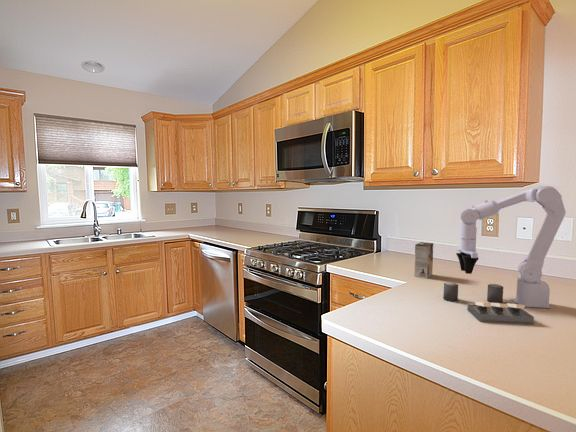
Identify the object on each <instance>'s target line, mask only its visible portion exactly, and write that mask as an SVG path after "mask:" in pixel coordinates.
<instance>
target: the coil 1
mask: <svg viewBox="0 0 576 432" xmlns="http://www.w3.org/2000/svg"><path fill="white" fill-rule="evenodd" d="M442 296H443V297H442V298H443V301H447V302H451V303H455V302H458V301H459V284H458V283H456V282H451V281H446V282H443V295H442Z"/></svg>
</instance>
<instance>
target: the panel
mask: <svg viewBox="0 0 576 432" xmlns="http://www.w3.org/2000/svg"><path fill="white" fill-rule="evenodd" d="M523 309H524V308H513V307H508V308H504V307H496V306H491V307H483V306H479V305H476V303H470V302H468V303H467V309H466V310H467V311H468V313H469V314H471V315H472V317H474V318H475V319H476V320H477V321H478V322H481V323H497V324H498V323H499V324H500V323H501V324H502V323H503V324H519V325H520V324H522V325H534V322H535V317H534V316H533V314H531V313H528V312H527V311H525V310H523Z"/></svg>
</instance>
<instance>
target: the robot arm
mask: <svg viewBox="0 0 576 432" xmlns="http://www.w3.org/2000/svg"><path fill="white" fill-rule="evenodd" d="M522 202H530V203H531V202H532V203H533V202H534V203H535V202H536V203H538V204H539V205H540V206H542V208H543V210H544V212H545V213H546V215H545V217H544V220H543V222H542V224H541V226H540V229H539V230H538V233H537V235H536V237H535V239H534V241H533V243H532V245H531V248H530V250H529V252H528V254H527V255H526V257H525V258H524V260H523V261H522V262H520V263H519V265H518V267H517V268H518V272H519V274H520V275H519V276H518V277H517V280H516V292H515V293H516V296H515V298H514V297H513V298H510V300H511V301H512V302H514V303H515V304H522V305H524V307H525V308H526V307H527V308H545V309H546V308H547V309H550V308H551V307H550V306H549V305H550V292H551V291H550V286H549V284H548V283H547V282H546V281H543V280H541V279H542V277H543V272H542V270H543V267H544V262H545V258H546V256H547V254H548V252H549V250H550V248H551V246H552V244H553V242H554V239H555V237H556V236H557V233H558V231H559V228H560V226H561V225H562V222H563V220H564V218H565V215H566V214H567V213H566V209H565V204H564V202H563V196H562V194H561V192H559V190H557V188H556V187H554V186H550V185H547V186H545V185H544V186H543V185H542V186H539V187H535V188H530V189H527V190H522V191H520V192H517V193H515V194H512V195H510V196H508V197H506V198H502V199H500V200H497V201H495V200H493V199H490V200H488V199H486V200H484V201H483V202H482V203H480V204H477V205H471V206H470V208H466V209H464V210H463V211H462V212H461V214H460V220H461V222H460V227H459V228H460V229H459V245H458V246H457V248H456V249H455V251H456V253H455V254H456V256H457V258H458V261H459V267H460V270H461V271H462V272H463V271H464V273H465V274H468V275H471V274H472V273H473V270H474V268H475V265H476V264H477V262H478V260H479V259H480V258H479V255H478V254H479V253H478V252H477V247H476V246H477V220H480V221H481V220H484V219H486V218H489V217H493V216H495V215H498V214H499V213H500V210H502V209H505V208H508V207H510V206H514V205H517V204H519V203H520V204H521V203H522Z"/></svg>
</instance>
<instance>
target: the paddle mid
mask: <svg viewBox="0 0 576 432" xmlns="http://www.w3.org/2000/svg"><path fill="white" fill-rule="evenodd" d="M491 306H496V307H504V308H508V304H507V303H503V302H502V303H491Z"/></svg>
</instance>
